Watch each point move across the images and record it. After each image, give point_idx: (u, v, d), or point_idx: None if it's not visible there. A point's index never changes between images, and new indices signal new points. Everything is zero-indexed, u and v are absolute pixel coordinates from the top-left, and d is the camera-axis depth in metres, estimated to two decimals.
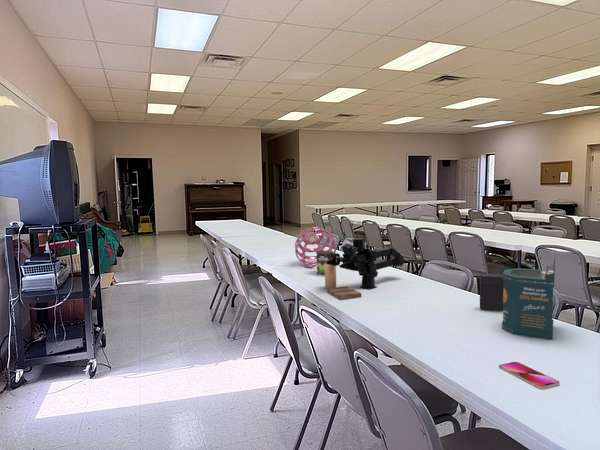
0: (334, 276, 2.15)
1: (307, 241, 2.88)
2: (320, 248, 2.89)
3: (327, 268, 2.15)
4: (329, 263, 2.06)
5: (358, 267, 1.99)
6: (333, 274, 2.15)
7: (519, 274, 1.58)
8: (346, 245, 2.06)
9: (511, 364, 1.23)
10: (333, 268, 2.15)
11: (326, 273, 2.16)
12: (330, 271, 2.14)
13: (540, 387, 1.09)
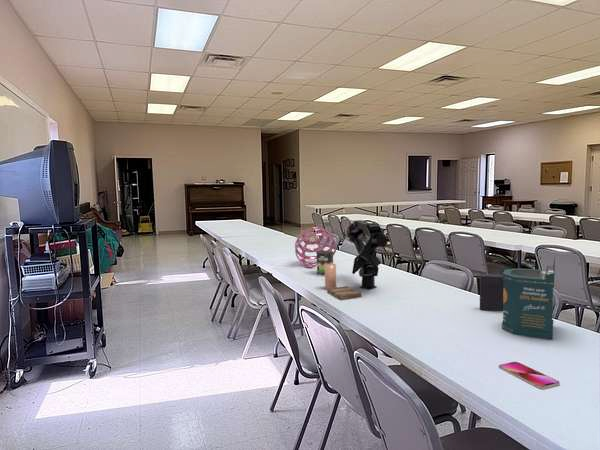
0: (334, 276, 2.15)
1: (307, 241, 2.88)
2: (320, 248, 2.89)
3: (327, 268, 2.15)
4: None
5: None
6: (333, 274, 2.15)
7: (519, 274, 1.58)
8: None
9: (511, 364, 1.23)
10: (333, 268, 2.15)
11: (326, 273, 2.16)
12: (330, 271, 2.14)
13: (540, 387, 1.09)
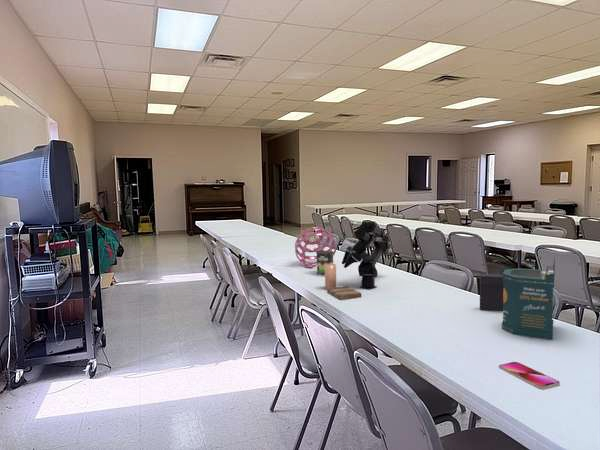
0: (334, 276, 2.15)
1: (307, 241, 2.88)
2: (320, 248, 2.89)
3: (327, 268, 2.15)
4: None
5: None
6: (333, 274, 2.15)
7: (519, 275, 1.58)
8: None
9: (511, 364, 1.23)
10: (333, 268, 2.15)
11: (326, 273, 2.16)
12: (330, 271, 2.14)
13: (540, 387, 1.09)
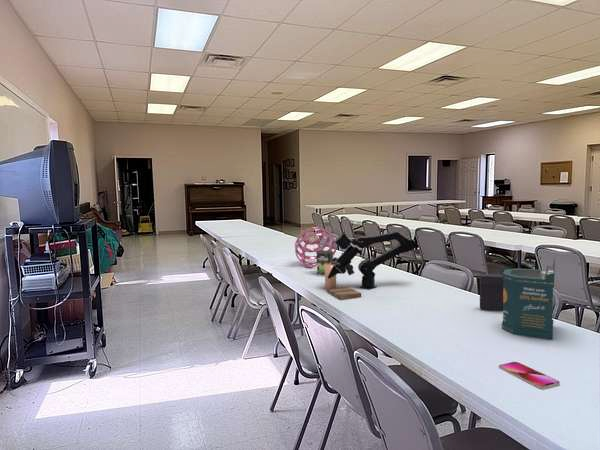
0: (334, 276, 2.15)
1: (307, 241, 2.88)
2: (320, 248, 2.89)
3: (327, 268, 2.15)
4: None
5: None
6: None
7: (519, 274, 1.58)
8: None
9: (511, 364, 1.23)
10: None
11: (326, 273, 2.16)
12: None
13: (540, 387, 1.09)
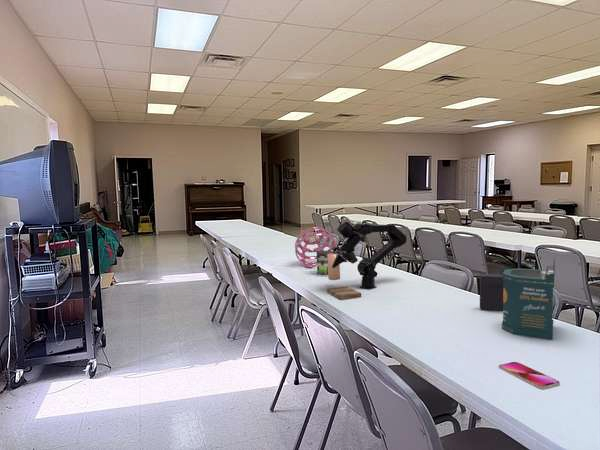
0: (338, 265, 2.10)
1: (307, 241, 2.88)
2: (320, 248, 2.89)
3: (331, 257, 2.09)
4: None
5: None
6: None
7: (519, 274, 1.58)
8: None
9: (511, 364, 1.23)
10: None
11: (330, 262, 2.09)
12: (334, 260, 2.08)
13: (540, 387, 1.09)
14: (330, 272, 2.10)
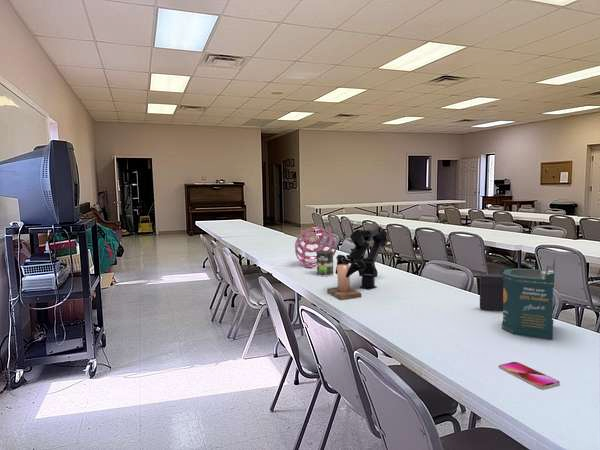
0: None
1: (307, 241, 2.88)
2: (320, 248, 2.89)
3: (343, 268, 2.02)
4: None
5: None
6: None
7: (519, 274, 1.58)
8: None
9: (511, 364, 1.23)
10: (348, 268, 2.04)
11: (341, 274, 2.03)
12: (346, 271, 2.03)
13: (540, 387, 1.09)
14: (341, 284, 2.03)
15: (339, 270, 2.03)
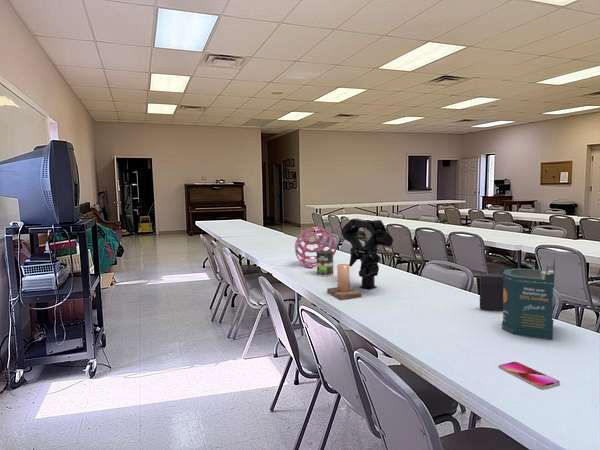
0: (349, 276, 2.04)
1: (307, 241, 2.88)
2: (320, 248, 2.89)
3: (343, 269, 2.02)
4: None
5: None
6: (348, 274, 2.04)
7: (519, 275, 1.58)
8: None
9: (511, 364, 1.23)
10: (348, 268, 2.03)
11: (341, 274, 2.03)
12: (346, 272, 2.03)
13: (541, 387, 1.09)
14: (341, 284, 2.03)
15: (339, 270, 2.03)
